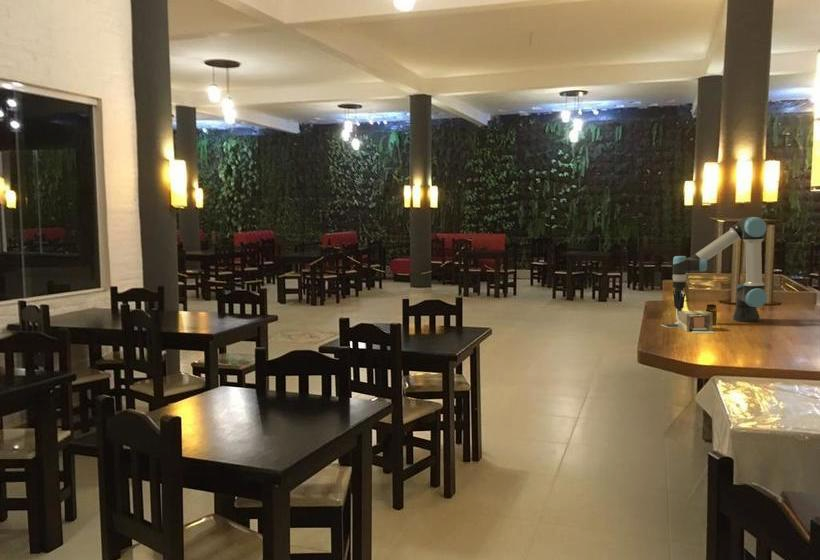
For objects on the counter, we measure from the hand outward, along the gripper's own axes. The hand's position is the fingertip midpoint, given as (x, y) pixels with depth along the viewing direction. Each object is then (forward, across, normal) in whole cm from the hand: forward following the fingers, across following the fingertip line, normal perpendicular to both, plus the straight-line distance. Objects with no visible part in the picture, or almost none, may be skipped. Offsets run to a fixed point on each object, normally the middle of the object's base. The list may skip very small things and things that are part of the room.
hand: (678, 319), depth 427 cm
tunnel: (+3, +22, 0) cm, 22 cm away
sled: (+2, +16, 0) cm, 17 cm away
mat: (+3, +33, 0) cm, 33 cm away
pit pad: (+3, +9, -4) cm, 10 cm away
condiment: (+3, +6, +17) cm, 18 cm away
